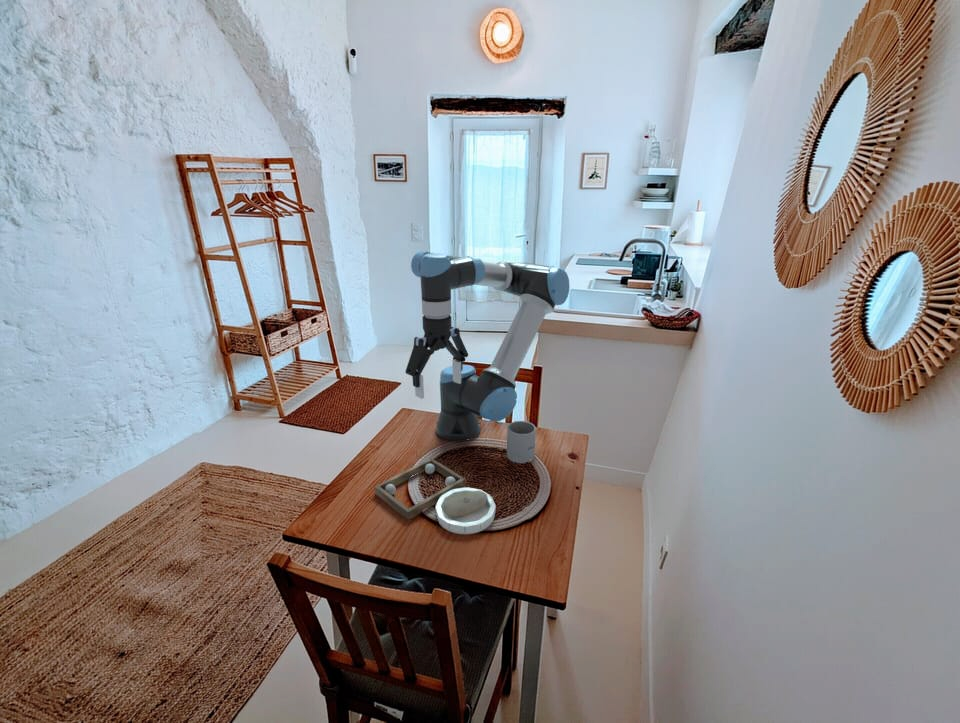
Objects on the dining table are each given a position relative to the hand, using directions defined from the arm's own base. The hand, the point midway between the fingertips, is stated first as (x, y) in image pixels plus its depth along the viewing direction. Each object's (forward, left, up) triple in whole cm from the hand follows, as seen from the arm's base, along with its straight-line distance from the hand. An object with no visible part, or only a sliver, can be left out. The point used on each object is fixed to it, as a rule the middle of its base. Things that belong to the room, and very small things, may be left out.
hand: (439, 389), depth 130 cm
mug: (-25, +11, -27) cm, 38 cm away
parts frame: (+10, +3, -27) cm, 29 cm away
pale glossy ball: (+3, -2, -27) cm, 27 cm away
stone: (+8, +19, -26) cm, 33 cm away
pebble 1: (+17, -2, -27) cm, 32 cm away
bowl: (+8, +19, -27) cm, 34 cm away
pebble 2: (+3, +7, -27) cm, 28 cm away
